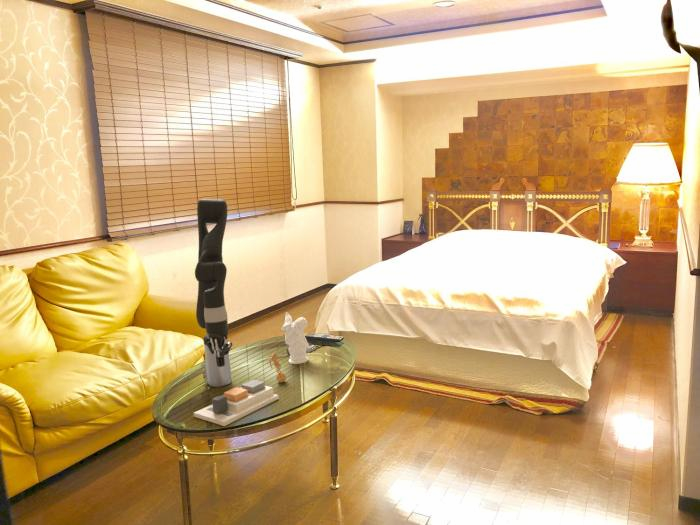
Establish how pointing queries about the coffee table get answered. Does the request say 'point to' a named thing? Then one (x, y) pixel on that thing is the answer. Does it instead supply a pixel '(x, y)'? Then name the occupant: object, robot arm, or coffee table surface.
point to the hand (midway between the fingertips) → (220, 366)
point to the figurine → (278, 368)
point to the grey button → (253, 386)
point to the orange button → (236, 394)
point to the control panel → (238, 407)
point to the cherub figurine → (296, 339)
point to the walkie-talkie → (306, 348)
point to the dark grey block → (219, 404)
